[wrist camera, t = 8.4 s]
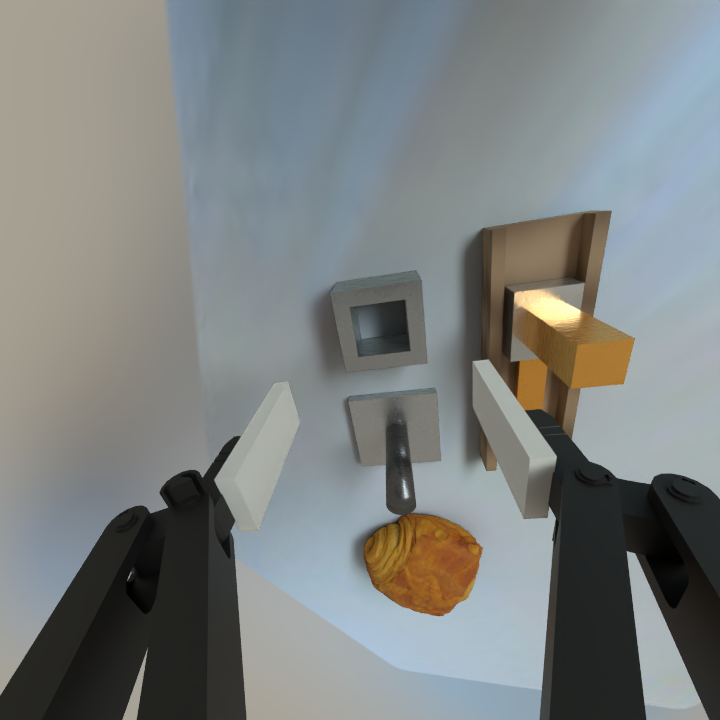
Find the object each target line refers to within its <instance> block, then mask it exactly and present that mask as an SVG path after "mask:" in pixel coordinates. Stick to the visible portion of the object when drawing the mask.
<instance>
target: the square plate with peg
mask: <svg viewBox="0 0 720 720" xmlns="http://www.w3.org/2000/svg"><path fill="white" fill-rule="evenodd" d="M348 403H349V407H350V412H351V417H352V422H353V426H354V431H355V436H356V441H357V445H358V450H359V455H360V460H361V464H362V466H375V465H386V506H387V508H388V510H389V511H390V512H392V513H394V514H398V515H405V514H409V513H411V512H412V511H414V509H415V508H416V499H415V490H414V482H413V473H412V464H411V463H418V462H432V461H441V451H440V434H439V418H438V401H437V391H436V388H429V389H419V390H409V391H399V392H389V393H379V394H369V395H359V396H349V401H348Z"/></svg>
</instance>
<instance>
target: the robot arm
mask: <svg viewBox="0 0 720 720" xmlns="http://www.w3.org/2000/svg"><path fill="white" fill-rule="evenodd" d="M473 409H474V411H475V413H476V415H477V417H478V420H479V422H480V424H481V426H482V428H483V431H484V433H485V435H486V437H487V439H488V442H489V444H490V446H491V448H492V450H493V453H494V455H495V457H496V459H497V461H498V464H499V466H500V468H501V470H502V472H503V475H504V477H505V479H506V481H507V483H508V485H509V488H510V490H511V492H512V494H513V496H514V499H515V501H516V503H517V505H518V507H519V510H520V512H521V514H522V516H523V518H524V519H531V518H547V517H548V511H549V506H550V508H551V510H552V512H553V513H554V515H555V517H556V521H555V527H554V533H553V539H552V541H554V542H553V555H552V568H551V581H550V594H549V607H548V619H547V632H546V645H545V658H544V671H543V684H542V697H541V710H540V720H646V713H645V705H644V696H643V688H642V679H641V671H640V662H639V653H638V645H637V636H636V628H635V619H634V611H633V602H632V594H631V585H630V577H629V568H628V560H627V551H629V552H633V553H635V554H636V556H637V558H638V560H639V563H640V565H641V567H642V569H643V572H644V574H645V576H646V578H647V581H648V583H649V585H650V587H651V590H652V592H653V594H654V596H655V599H656V601H657V603H658V605H659V608H660V610H661V612H662V614H663V617H664V619H665V621H666V623H667V626H668V628H669V630H670V632H671V635H672V637H673V639H674V641H675V644H676V646H677V648H678V650H679V653H680V655H681V657H682V659H683V662H684V664H685V666H686V668H687V671H688V673H689V675H690V677H691V680H692V682H693V684H694V686H695V689H696V691H697V693H698V695H699V698H700V700H701V702H702V704H703V707H704V709H705V711H706V713H707V716H708V718H709V720H720V499H719V498H718V496H717V495H716V494H714V493H713V492H712V491H711V490H710V489H709V488H708V487H706V486H704V485H703V484H701V483H699V482H698V481H695V480H693V479H690V478H688V477H685V476H681V475H676V474H660V475H657V476H655V477H654V478H653V480H652V482H651V484H645V483H639V482H633V481H627V480H623V479H618V478H616V477H615V476H614V475H613V474H612V473H611V472H610V471H609V470H607V469H606V468H604V467H602V466H601V465H598V464H595V463H592V462H589V461H588V459H587V458H586V457H585V456H584V455H583V453H582V452H581V451H580V450H579V448H578V447H577V446H576V445H575V444H574V442H573V441H572V440H571V439H570V437H569V436H568V435H566V433H565V431H564V430H563V429H562V428H561V427H560V425H559V424H558V423H557V422H556V420H555V419H554V418H553V417H552V416H551V415H549V414H548V413H546V412H544V411H543V410H541V409H535V410H524V409H523V408H522V406H521V405H520V403H519V402H518V401H517V399H516V398H515V396H514V395H513V393H512V392H511V391H510V389H509V388H508V386H507V385H506V384H505V382H504V381H503V379H502V378H501V376H500V375H499V374H498V372H497V371H496V369H495V368H494V366H493V365H492V364H491V362H490V361H489V359H488V360H479V361H473ZM299 424H300V420H299V417H298V414H297V410H296V407H295V404H294V400H293V397H292V394H291V390H290V387H289V384H288V382H279V383H274V384H273V386H272V388H271V389H270V391H269V392H268V394H267V396H266V397H265V399H264V400H263V402H262V404H261V405H260V407H259V408H258V410H257V412H256V413H255V415H254V417H253V418H252V420H251V421H250V423H249V425H248V426H247V428H246V429H245V431H244V433H243V434H242V436H236V437H233V438H232V439H231V440H230V441H229V442H227V443H226V444H225V445H224V447H223V448H222V450H221V451H220V453H219V455H218V456H217V457H216V459H215V460H214V463H212V465H211V466H210V468H209V469H208V471H207V472H206V474H205V475H204V477H203V478H202V477H201V475H200V473H199V472H198V471H196V470H188V471H184V472H181V473H179V474H177V475H176V476H174V477H172V478H171V479H170V480H168V481H167V482H166V483H165V484H164V486H163V487H162V488H161V490H160V495H161V496H162V498H163V499H164V501H165V503H166V504H167V506H168V508H166V509H163V510H160V511H158V512H154V513H150V512H149V511H148V509H147V508H146V507H144V506H135V507H132V508H130V509H127V510H126V511H124V512H122V513H120V514H119V515H118V516H116V517H115V518H114V519H113V520H112V521H111V522H110V524H108V526H107V527H106V528H105V530H104V532H103V533H102V535H101V536H100V538H99V540H98V541H97V543H96V544H95V546H94V548H93V549H92V551H91V552H90V554H89V556H88V557H87V559H86V560H85V562H84V564H83V565H82V567H81V568H80V570H79V571H78V573H77V575H76V576H75V578H74V579H73V581H72V583H71V584H70V586H69V587H68V589H67V590H66V592H65V594H64V595H63V597H62V598H61V600H60V602H59V603H58V605H57V606H56V608H55V610H54V611H53V613H52V614H51V616H50V617H49V619H48V621H47V622H46V624H45V625H44V627H43V629H42V630H41V632H40V633H39V635H38V637H37V638H36V640H35V641H34V643H33V645H32V646H31V648H30V649H29V651H28V653H27V654H26V656H25V657H24V659H23V660H22V662H21V664H20V665H19V667H18V668H17V670H16V672H15V673H14V675H13V676H12V678H11V679H10V681H9V683H8V684H7V686H6V687H5V689H4V691H3V692H2V694H1V695H0V720H122V719H123V716H124V713H125V711H126V708H127V705H128V702H129V699H130V696H131V693H132V691H133V687H134V685H135V682H136V679H137V676H138V673H139V671H140V668H141V665H142V662H143V659H144V657H145V654H146V651H147V648H148V652H147V658H146V665H145V671H144V677H143V683H142V691H141V696H140V703H139V709H138V716H137V720H246V706H245V692H244V679H243V665H242V652H241V637H240V624H239V610H238V595H237V582H236V569H235V554H234V540H233V536H232V534H231V532H230V531H231V529H232V527H233V524H234V522H235V523H236V525H237V527H238V529H239V531H259V528H260V526H261V523H262V520H263V518H264V515H265V513H266V510H267V507H268V505H269V502H270V500H271V497H272V494H273V492H274V489H275V487H276V484H277V482H278V479H279V476H280V474H281V471H282V469H283V466H284V463H285V461H286V458H287V456H288V453H289V450H290V448H291V445H292V443H293V440H294V437H295V435H296V432H297V430H298V427H299ZM130 572H132V574H131V576H130V578H129V580H128V581H127V579H128V576H129V574H130Z"/></svg>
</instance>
